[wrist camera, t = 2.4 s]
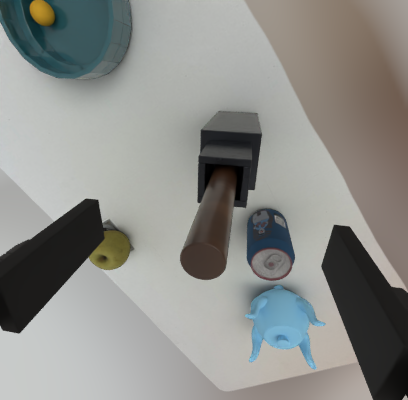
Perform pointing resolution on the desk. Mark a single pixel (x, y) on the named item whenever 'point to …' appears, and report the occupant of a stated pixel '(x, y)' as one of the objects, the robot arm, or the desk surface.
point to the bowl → (70, 36)
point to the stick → (211, 226)
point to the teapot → (282, 322)
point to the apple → (111, 251)
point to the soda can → (269, 245)
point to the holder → (230, 151)
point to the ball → (42, 12)
